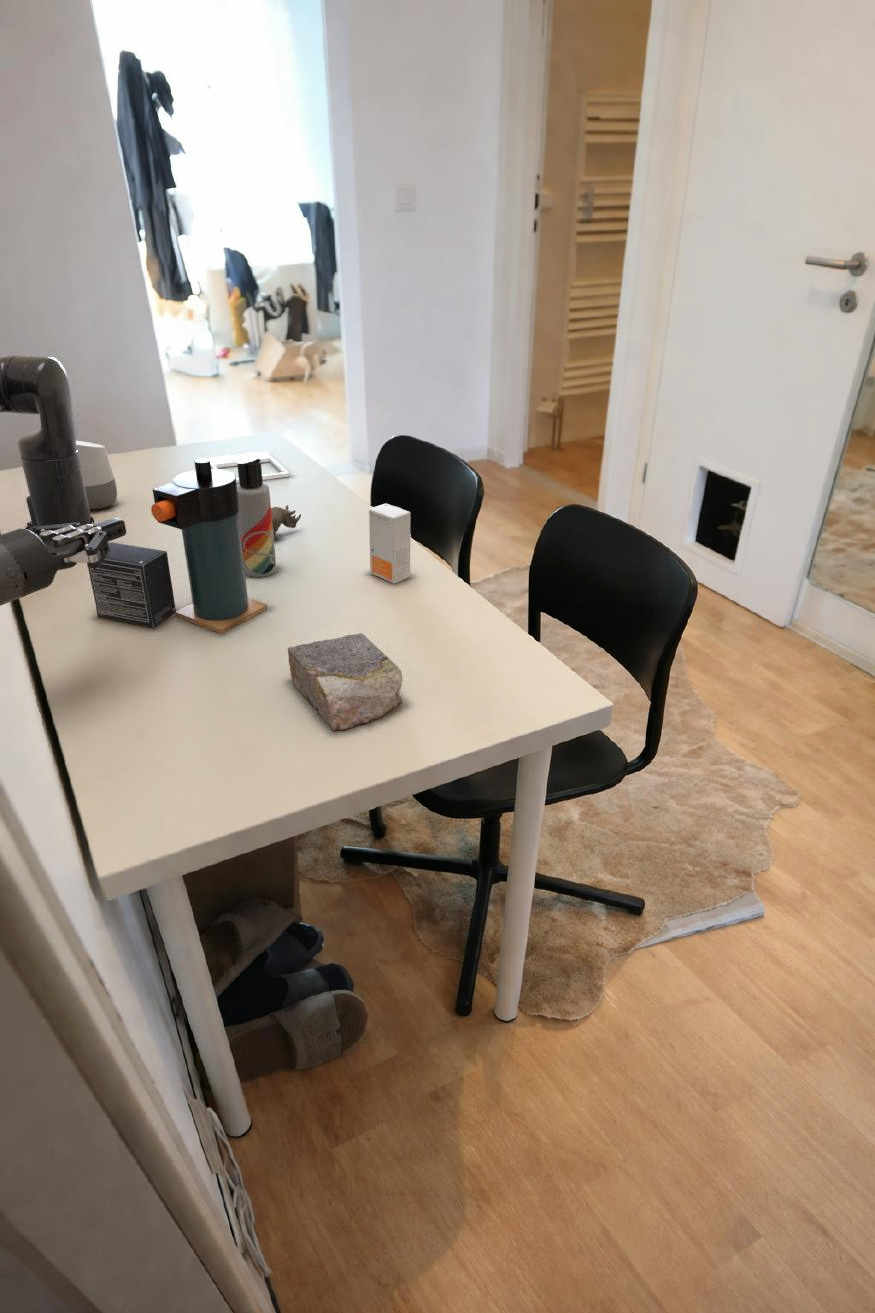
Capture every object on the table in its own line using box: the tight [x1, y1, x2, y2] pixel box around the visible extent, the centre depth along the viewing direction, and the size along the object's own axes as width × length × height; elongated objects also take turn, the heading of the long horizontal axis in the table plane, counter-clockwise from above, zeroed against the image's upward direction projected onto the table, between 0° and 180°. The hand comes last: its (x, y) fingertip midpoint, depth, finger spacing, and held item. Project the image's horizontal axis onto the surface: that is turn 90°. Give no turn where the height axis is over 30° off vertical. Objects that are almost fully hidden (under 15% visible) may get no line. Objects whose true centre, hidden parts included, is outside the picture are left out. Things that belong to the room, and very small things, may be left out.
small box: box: [86, 541, 177, 629], centre depth 126 cm, size 11×6×10 cm, turn 71°
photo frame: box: [206, 451, 290, 484], centre depth 191 cm, size 15×1×18 cm
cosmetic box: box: [368, 502, 412, 585], centre depth 140 cm, size 6×4×12 cm
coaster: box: [174, 597, 268, 635], centre depth 130 cm, size 10×10×1 cm
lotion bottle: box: [237, 457, 277, 578], centre depth 139 cm, size 6×6×20 cm
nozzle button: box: [150, 499, 176, 522], centre depth 115 cm, size 3×3×3 cm
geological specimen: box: [287, 632, 403, 731], centre depth 109 cm, size 11×6×15 cm
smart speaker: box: [76, 440, 118, 512], centre depth 166 cm, size 10×9×14 cm
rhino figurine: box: [271, 504, 302, 542], centre depth 155 cm, size 4×14×6 cm, turn 131°
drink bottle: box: [152, 457, 249, 620], centre depth 122 cm, size 12×9×24 cm
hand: (121, 525), depth 109 cm, fingers closed
